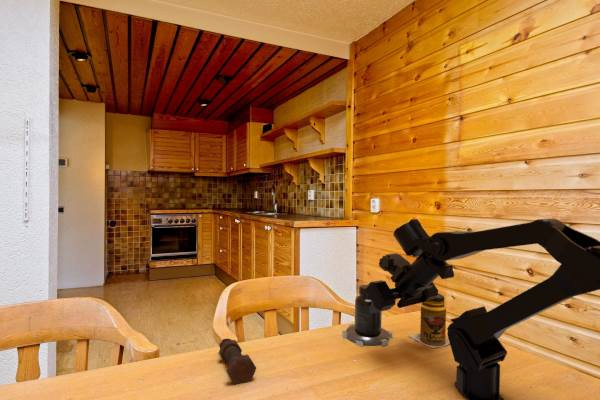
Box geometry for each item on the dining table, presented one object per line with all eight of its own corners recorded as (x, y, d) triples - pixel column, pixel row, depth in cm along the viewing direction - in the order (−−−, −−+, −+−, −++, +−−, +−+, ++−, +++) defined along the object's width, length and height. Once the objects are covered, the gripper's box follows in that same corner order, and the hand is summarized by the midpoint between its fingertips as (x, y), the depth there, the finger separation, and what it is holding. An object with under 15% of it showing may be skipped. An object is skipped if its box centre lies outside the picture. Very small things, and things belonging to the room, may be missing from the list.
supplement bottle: (368, 325, 98) (369, 282, 98) (386, 334, 93) (387, 288, 92) (349, 330, 95) (350, 285, 95) (367, 339, 89) (367, 291, 89)
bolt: (229, 359, 84) (246, 390, 70) (210, 352, 82) (224, 381, 69) (241, 336, 85) (260, 361, 72) (222, 328, 84) (239, 352, 70)
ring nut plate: (384, 328, 100) (385, 323, 100) (398, 346, 88) (398, 341, 88) (339, 328, 100) (339, 323, 100) (346, 346, 88) (346, 341, 88)
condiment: (433, 349, 87) (434, 300, 87) (407, 336, 95) (408, 291, 94) (453, 343, 91) (454, 296, 90) (427, 332, 98) (428, 288, 98)
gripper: (428, 241, 89) (394, 277, 98) (372, 246, 79) (340, 285, 88) (456, 280, 82) (417, 314, 91) (398, 290, 72) (361, 327, 82)
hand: (384, 309), depth 88 cm, fingers open, 9 cm apart
